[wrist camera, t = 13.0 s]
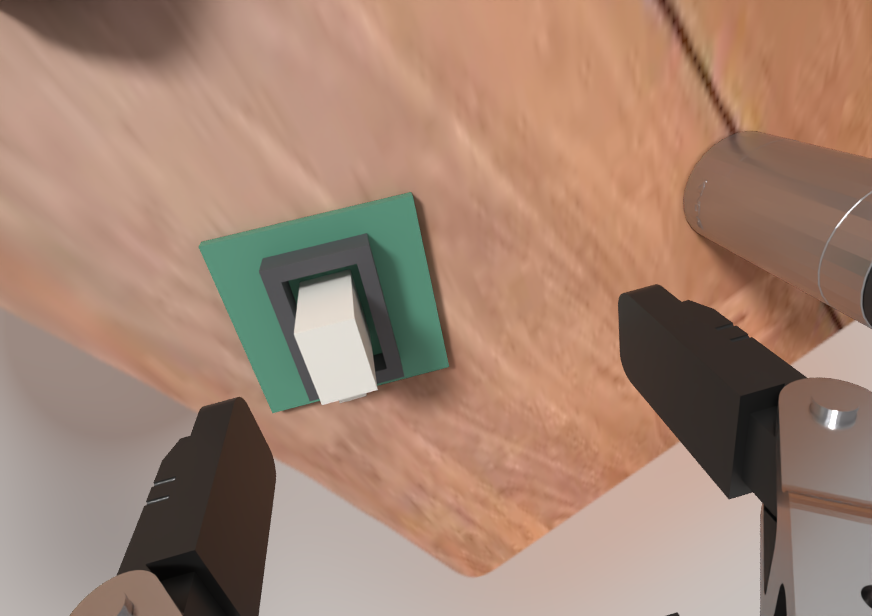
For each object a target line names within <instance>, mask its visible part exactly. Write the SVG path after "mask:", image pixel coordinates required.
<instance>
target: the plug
mask: <svg viewBox="0 0 872 616" xmlns="http://www.w3.org/2000/svg"><path fill="white" fill-rule="evenodd" d="M294 336H295V339H296V341H297V344H298V346H299V349H300V351H301V354H302V356H303V359H304V361H305V364H306V366H307V369H308V371H309V374H310V376H311V379H312V381H313V384H314V386H315V389H316V391H317V394H318V396H319V399H320V401H321V404H322V405H324V404H328V403H331V402H335V401H338V400H339V402H340V403H342V402H346V401H350V400H353V399H357V398H361V397H364V396H367V395H366V393H368V392H371V391H375V390H378V389H377V382H376V374H375V367H374V359H373V352H372V344H371V337H370V331H369V328H368V325H367V322H366V318H365V315H364V312H363V309H362V306H361V302H360V299H359V296H358V293H357V289H356V286H355V283H354V280H353V277H352V273H351V270H350V269H349V270H345V271H341V272H337V273H334V274H330V275H326V276H322V277H318V278H314V279H310V280H306V281H303V282H300V286H299V294H298V303H297V311H296V320H295V328H294Z"/></svg>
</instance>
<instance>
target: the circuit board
mask: <svg viewBox="0 0 872 616" xmlns="http://www.w3.org/2000/svg"><path fill="white" fill-rule="evenodd" d="M199 249H200V251H201V253H202V255H203V258H204V260H205V262H206V264H207V267H208V269H209V271H210V273H211V276H212V278H213V280H214V282H215V285H216V287H217V289H218V291H219V294H220V296H221V298H222V300H223V303H224V305H225V307H226V309H227V312H228V314H229V316H230V318H231V321H232V323H233V325H234V327H235V330H236V332H237V334H238V336H239V339H240V341H241V343H242V345H243V348H244V350H245V352H246V354H247V357H248V359H249V361H250V363H251V366H252V368H253V370H254V372H255V375H256V377H257V379H258V381H259V384H260V386H261V388H262V390H263V393H264V395H265V397H266V399H267V402H268V404H269V406H270V408H271V411H272V413H275V412H279V411H283V410H286V409H290V408H294V407H298V406H302V405H306V404H309V403H313V402H317V401H320V399H319V396H318V394H317V391H316V389H315V386H314V384H313V381H312V379H311V376H310V374H309V371H308V369H307V366H306V364H305V361H304V359H303V356H302V354H301V351H300V349H299V346H298V344H297V341H296V339H295V336H294V328H295V320H296V311H297V303H298V294H299V286H300V282H303V281H306V280H310V279H314V278H318V277H322V276H326V275H330V274H334V273H337V272H341V271H345V270H349V269H350V270H351V273H352V277H353V280H354V283H355V286H356V289H357V293H358V296H359V299H360V302H361V306H362V309H363V312H364V315H365V318H366V322H367V325H368V328H369V331H370V337H371V344H372V352H373V359H374V367H375V374H376V382H377V386H378V385H382V384H386V383H390V382H393V381H397V380H401V379H405V378H409V377H412V376H416V375H420V374H424V373H428V372H432V371H435V370H439V369H443V368H447V367H449V364H448V359H447V354H446V350H445V345H444V340H443V336H442V331H441V326H440V322H439V317H438V312H437V308H436V303H435V298H434V293H433V289H432V284H431V279H430V275H429V270H428V265H427V261H426V256H425V251H424V247H423V242H422V237H421V233H420V228H419V223H418V219H417V214H416V209H415V204H414V200H413V195H412V194H411V192H409V193H405V194H401V195H397V196H393V197H388V198H384V199H380V200H376V201H371V202H367V203H363V204H359V205H355V206H350V207H346V208H342V209H338V210H334V211H329V212H325V213H321V214H317V215H313V216H308V217H304V218H300V219H296V220H292V221H287V222H283V223H279V224H275V225H271V226H266V227H262V228H258V229H254V230H249V231H245V232H241V233H237V234H233V235H228V236H224V237H220V238H216V239H212V240H207V241H203V242H201V244H200V245H199Z"/></svg>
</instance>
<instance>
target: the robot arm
mask: <svg viewBox="0 0 872 616" xmlns="http://www.w3.org/2000/svg"><path fill="white" fill-rule="evenodd" d="M683 202H684V212H685V216H686V219H687V221H688V223H689V224H690V226H691V227H692V228H693V229H694V230H695V231H696V232H697V233H698V234H700V235H702V236H704V237H706V238H708V239H709V240H711V241H713V242H715V243H717V244H718V245H720V246H722V247H724V248H726V249H727V250H729V251H731V252H732V253H734V254H736V255H738V256H740V257H742V258H743V259H745V260H747V261H749V262H751V263H752V264H754V265H756V266H758V267H760V268H762V269H763V270H765V271H767V272H769V273H771V274H772V275H774V276H776V277H778V278H780V279H782V280H783V281H785V282H787V283H789V284H791V285H792V286H794V287H796V288H798V289H800V290H802V291H803V292H805V293H807V294H809V295H811V296H812V297H814V298H816V299H818V300H820V301H822V302H823V303H825V304H827V305H829V306H831V307H832V308H834V309H836V310H838V311H840V312H842V313H844V314H846V315H847V316H849V317H851V318H853V319H855V320H857V321H858V322H860V323H862V324H864V325H866V326H867V327H869V328H871V329H872V159H871V158H867V157H863V156H859V155H854V154H850V153H846V152H842V151H837V150H833V149H829V148H825V147H820V146H816V145H812V144H808V143H803V142H799V141H796V140H791V139H787V138H783V137H778V136H774V135H770V134H766V133H761V132H757V131H744V132H740V133H736V134H733V135H731V136H729V137H726V138H724V139H722V140H721V141H719V142H718V143H717V144H715V145H714V146H712V147H711V148H710V149H709V150H708V151H707V152H706V153H705V154H704V155H703V156H702V157H701V159H700V160H699V161H698V163H697V164H696V165H695V167H694V169H693V171H692V173H691V174H690V176H689V179H688V182H687V185H686V188H685V193H684V199H683ZM618 313H619V341H620V357H621V362H622V366H623V368H624V371H625V373H626V375H627V377H628V379H629V380H630V382H631V383H632V384H633V386H634V387H635V388H636V389H637V390H638V392H639V393H640V394H641V395H642V396H643V397H644V399H645V400H646V401H647V402H648V403H649V405H650V406H651V407H652V408H653V409H654V411H655V412H656V413H657V414H658V415H659V417H660V418H661V419H662V420H663V421H664V422H665V424H666V425H667V426H668V427H669V428H670V430H671V431H672V432H673V433H674V434H675V436H676V437H677V438H678V439H679V440H680V442H681V443H682V444H683V445H684V446H685V447H686V449H687V450H688V451H689V452H690V453H691V455H692V456H693V457H694V458H695V459H696V461H697V462H698V463H699V464H700V465H701V467H702V468H703V469H704V470H705V471H706V473H707V474H708V475H709V476H710V477H711V478H712V480H713V481H714V482H715V483H716V484H717V486H718V487H719V488H720V489H721V490H722V491H723V493H724V494H725V495H726V496H727V497H728V499H731V498H735V497H739V496H742V495H745V494H748V493H752V492H753V493H755V495H756V496H757V497H758V498H759V499H760V501H761V502H762V507H761V514H760V523H761V524H760V527H761V528H760V537H761V538H760V616H872V392H870V391H869V390H867V389H865V388H863V387H861V386H858V385H855V384H853V383H849V382H845V381H841V380H837V379H831V378H807V377H805V376H804V375H802V374H801V373H800V372H799V371H797V370H796V369H794V368H793V367H792V366H790V365H789V364H788V363H786V362H785V361H784V360H782V359H781V358H780V357H778V356H777V355H776V354H774V353H773V352H771V351H770V350H769V349H767V348H766V347H765V346H763V345H762V344H761V343H759V342H758V341H757V340H755V339H754V338H752V337H751V338H749V336H748V334H747V333H746V332H744V331H743V330H742V329H740V328H739V327H738V326H733V323H732V322H731V321H729V320H728V319H727V318H725V317H724V316H723V315H721V314H720V313H719V312H717V311H716V310H715V309H712V308H709V307H707V306H704V305H701V304H698V303H696V302H693V301H690V300H687V301H683V302H681V301H680V300H678V299H677V298H676V297H675V296H673V295H672V294H671V293H670V292H668V291H667V290H666V289H664V288H663V287H662V286H660V285H658V284H655V285H652V286H648V287H644V288H641V289H637V290H633V291H630V292H626V293H623V294H621V295H620V297H619V301H618ZM275 483H276V470H275V464H274V459H273V456H272V453H271V450H270V448H269V446H268V444H267V442H266V440H265V438H264V436H263V434H262V432H261V430H260V428H259V426H258V424H257V422H256V420H255V418H254V416H253V414H252V413H251V411H250V409H249V407H248V405H247V403H246V402H245V400H244V399H243V398H241V397H237V398H233V399H229V400H226V401H222V402H218V403H215V404H211V405H207V406H204V407H202V408H201V409H200V411H199V413H198V416H197V419H196V421H195V424H194V427H193V430H192V433H191V436H188V437H184V438H181V439H180V440H179V441H178V442H177V443H176V445H175V446H174V447H173V448H172V449H171V451H170V452H169V453H168V455H167V456H166V457H165V458H164V459H163V460H162V463H161V465H160V468H159V471H158V473H157V476H156V478H155V480H154V487H152V488H151V491H150V493H149V495H148V498H147V501H146V502H147V505H146V506H144V508H143V511H142V513H141V516H140V519H139V521H138V523H137V526H136V528H135V531H134V533H133V536H132V538H131V541H130V543H129V546H128V548H127V551H126V553H125V556H124V558H123V561H122V563H121V566H120V568H119V571H118V573H117V576H116V577H113V578H111V579H110V580H108V581H106V582H105V583H103V584H102V585H100V586H99V587H97V588H96V589H95V590H93V591H92V592H91V593H90V594H89V595H87V596H86V597H85V598H84V599H83V600H82V601H81V602H80V603H79V605H78V606H77V607H76V608H75V609H74V610H73V611H72V613H71V614H70V616H258V615H259V606H260V599H261V592H262V583H263V576H264V567H265V560H266V553H267V545H268V537H269V530H270V522H271V514H272V507H273V499H274V490H275ZM667 616H679V614H678V613H674V614H670V615H667Z"/></svg>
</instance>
